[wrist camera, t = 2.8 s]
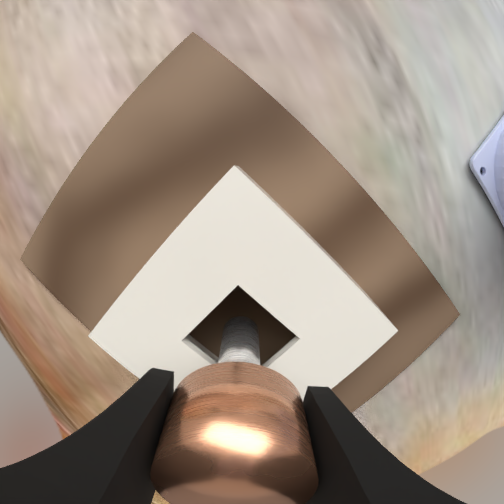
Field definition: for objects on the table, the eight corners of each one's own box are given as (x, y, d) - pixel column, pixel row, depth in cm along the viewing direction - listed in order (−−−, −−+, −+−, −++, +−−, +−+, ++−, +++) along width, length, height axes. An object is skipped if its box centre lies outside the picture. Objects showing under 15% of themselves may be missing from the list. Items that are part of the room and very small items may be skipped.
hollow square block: (363, 290, 16) (398, 330, 12) (246, 392, 18) (245, 449, 14) (238, 166, 15) (234, 165, 10) (124, 295, 16) (88, 336, 12)
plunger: (304, 329, 13) (351, 480, 6) (242, 382, 13) (240, 532, 6) (238, 271, 12) (224, 410, 5) (177, 332, 13) (121, 478, 5)
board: (456, 311, 17) (460, 314, 17) (278, 457, 20) (279, 461, 20) (194, 34, 13) (192, 31, 13) (23, 257, 16) (20, 259, 16)
